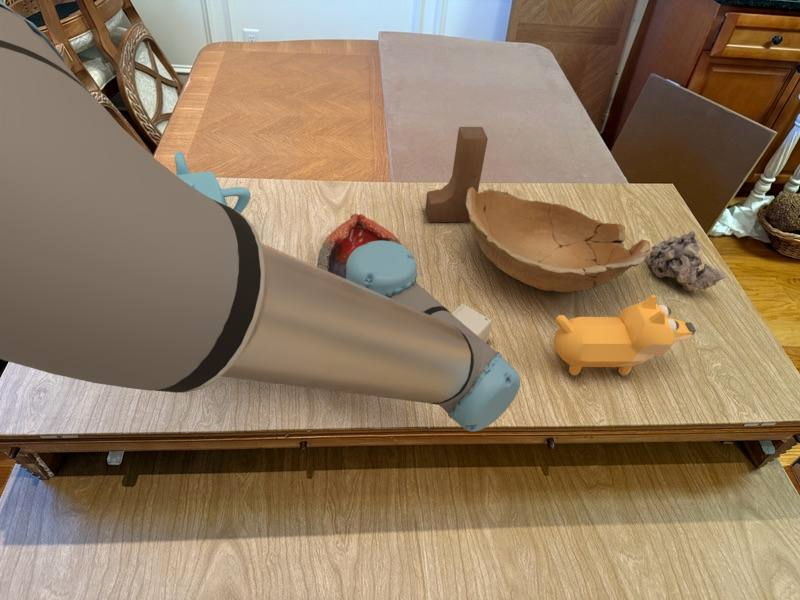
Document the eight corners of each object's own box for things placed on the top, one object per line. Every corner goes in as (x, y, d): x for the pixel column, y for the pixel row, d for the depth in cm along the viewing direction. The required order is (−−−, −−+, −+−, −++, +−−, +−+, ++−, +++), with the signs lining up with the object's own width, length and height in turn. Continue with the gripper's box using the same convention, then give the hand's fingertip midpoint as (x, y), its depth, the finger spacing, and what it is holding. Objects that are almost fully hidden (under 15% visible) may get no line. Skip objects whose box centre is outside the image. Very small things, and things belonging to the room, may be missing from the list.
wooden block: (427, 223, 105) (437, 138, 93) (424, 209, 108) (433, 125, 96) (473, 222, 106) (488, 138, 94) (468, 209, 109) (483, 125, 97)
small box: (458, 323, 86) (462, 302, 83) (488, 341, 84) (493, 320, 80) (437, 343, 83) (440, 322, 79) (467, 363, 80) (472, 341, 77)
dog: (680, 385, 80) (721, 325, 71) (548, 385, 78) (573, 324, 69) (659, 344, 85) (695, 284, 76) (536, 344, 84) (558, 283, 75)
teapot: (267, 240, 99) (258, 175, 89) (202, 291, 88) (184, 224, 79) (193, 208, 105) (177, 144, 95) (124, 252, 94) (98, 186, 85)
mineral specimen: (729, 290, 90) (720, 233, 87) (671, 304, 91) (662, 248, 89) (696, 273, 101) (688, 222, 99) (646, 286, 103) (636, 236, 100)
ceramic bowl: (606, 215, 107) (634, 155, 95) (635, 331, 91) (674, 276, 79) (455, 209, 107) (464, 148, 95) (458, 323, 92) (469, 268, 79)
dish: (311, 358, 79) (309, 335, 76) (322, 231, 101) (321, 209, 98) (416, 357, 81) (418, 335, 77) (404, 232, 102) (406, 210, 99)
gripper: (272, 404, 65) (116, 346, 70) (341, 302, 78) (205, 259, 83) (264, 365, 60) (96, 305, 65) (339, 263, 73) (194, 220, 78)
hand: (157, 280), depth 74 cm, fingers closed on beverage cup, 6 cm apart
